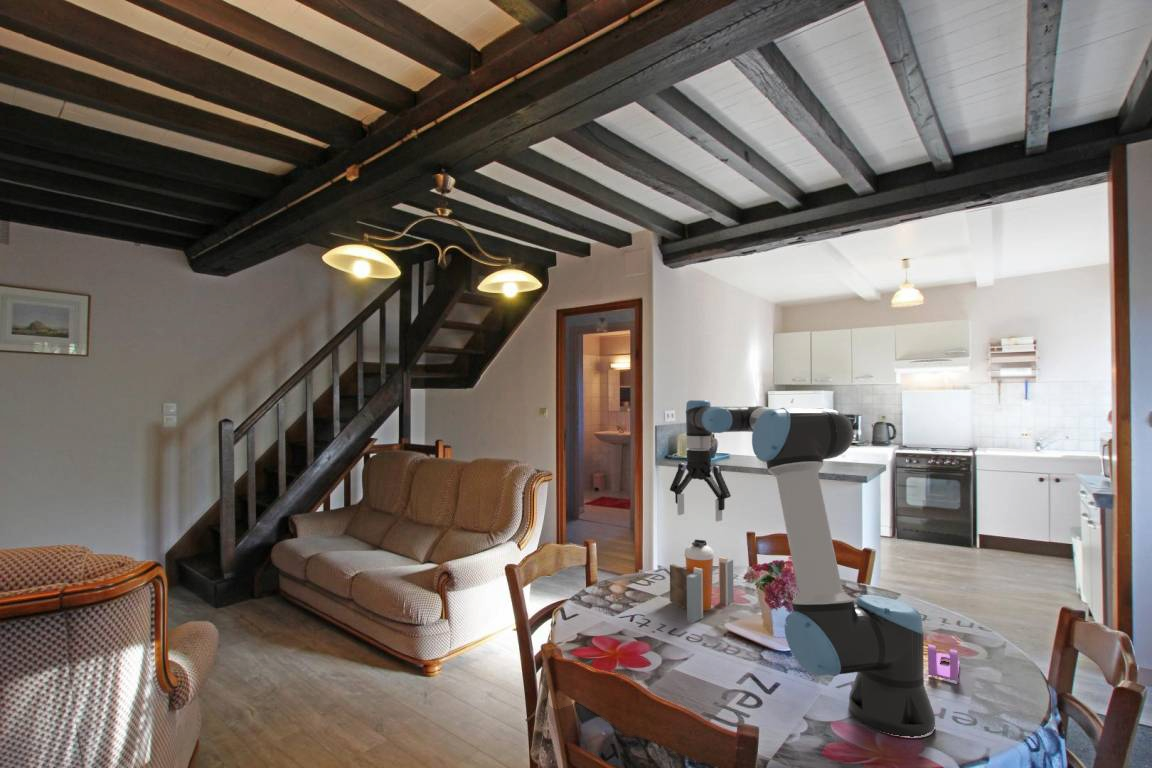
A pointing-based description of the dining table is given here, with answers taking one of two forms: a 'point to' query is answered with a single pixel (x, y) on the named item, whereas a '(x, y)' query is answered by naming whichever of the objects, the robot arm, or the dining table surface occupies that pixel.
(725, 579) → the wall
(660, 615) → the dining table surface
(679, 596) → the door
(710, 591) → the shaker bottle
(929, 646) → the bracket
